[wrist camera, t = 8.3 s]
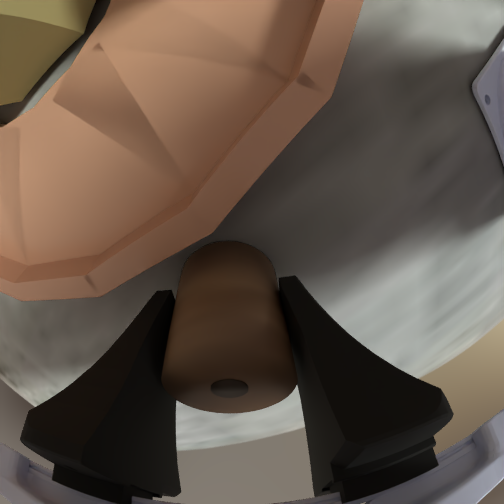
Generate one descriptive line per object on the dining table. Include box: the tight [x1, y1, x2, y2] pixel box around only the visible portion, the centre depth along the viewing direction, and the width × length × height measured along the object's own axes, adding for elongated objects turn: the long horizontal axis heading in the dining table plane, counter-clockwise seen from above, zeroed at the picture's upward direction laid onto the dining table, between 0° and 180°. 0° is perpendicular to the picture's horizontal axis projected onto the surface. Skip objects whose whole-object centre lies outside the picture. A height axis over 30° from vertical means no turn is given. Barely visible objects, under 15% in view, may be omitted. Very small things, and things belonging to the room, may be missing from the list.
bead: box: [161, 241, 298, 413], centre depth 9 cm, size 4×4×5 cm
